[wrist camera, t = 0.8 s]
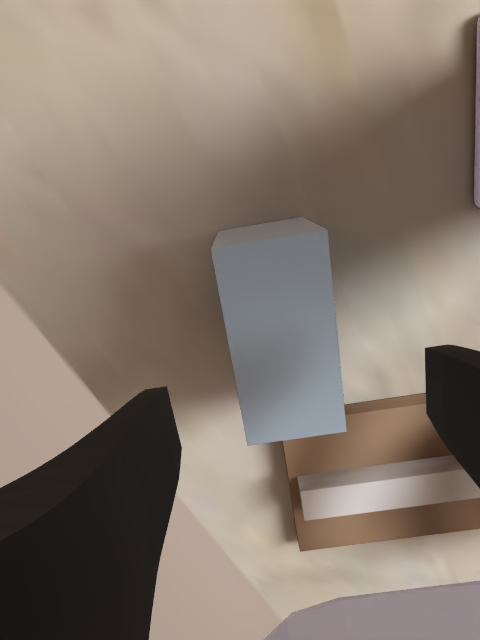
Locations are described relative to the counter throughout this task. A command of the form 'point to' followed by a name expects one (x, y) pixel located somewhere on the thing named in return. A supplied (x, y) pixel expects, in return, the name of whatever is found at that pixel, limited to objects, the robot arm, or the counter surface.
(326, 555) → the counter surface
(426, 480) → the board
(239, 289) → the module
